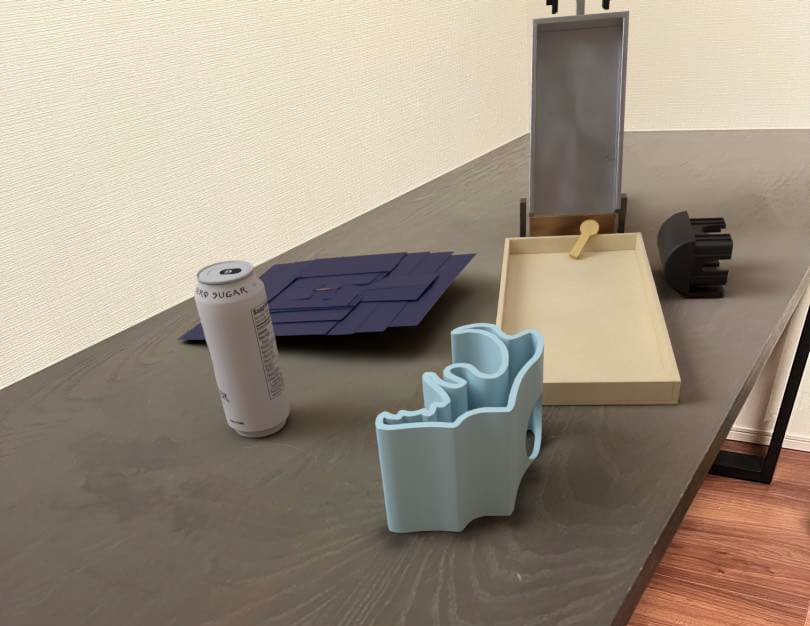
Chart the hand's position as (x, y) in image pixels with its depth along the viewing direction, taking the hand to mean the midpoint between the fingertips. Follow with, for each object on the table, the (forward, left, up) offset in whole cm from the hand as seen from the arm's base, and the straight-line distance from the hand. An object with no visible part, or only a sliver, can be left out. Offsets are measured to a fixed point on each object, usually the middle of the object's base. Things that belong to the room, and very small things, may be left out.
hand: (580, 8), depth 94 cm
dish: (0, +2, -10) cm, 10 cm away
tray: (0, +28, -26) cm, 38 cm away
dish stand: (0, -2, -26) cm, 26 cm away
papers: (+28, +25, -26) cm, 46 cm away
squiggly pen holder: (+9, +59, -26) cm, 65 cm away
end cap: (-13, +20, -26) cm, 35 cm away
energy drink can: (+30, +51, -26) cm, 65 cm away
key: (-2, +10, -24) cm, 26 cm away
